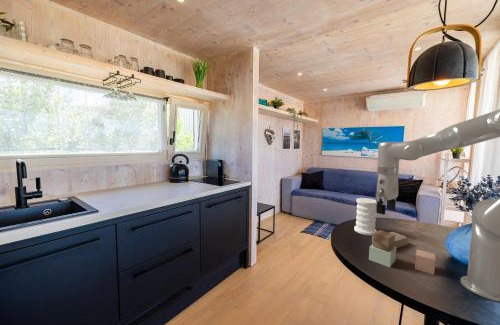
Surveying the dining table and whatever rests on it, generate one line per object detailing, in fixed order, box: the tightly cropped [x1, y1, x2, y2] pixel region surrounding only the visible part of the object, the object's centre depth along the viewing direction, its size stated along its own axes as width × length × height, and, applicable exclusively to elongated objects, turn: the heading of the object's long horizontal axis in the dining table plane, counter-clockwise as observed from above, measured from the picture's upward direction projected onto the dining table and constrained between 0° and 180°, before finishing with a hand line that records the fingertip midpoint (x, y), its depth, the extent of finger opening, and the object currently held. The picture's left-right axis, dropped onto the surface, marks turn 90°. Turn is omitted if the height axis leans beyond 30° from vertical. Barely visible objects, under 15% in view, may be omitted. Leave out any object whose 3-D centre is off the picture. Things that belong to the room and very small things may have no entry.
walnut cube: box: [372, 229, 395, 252], centre depth 95 cm, size 6×6×6 cm
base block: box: [368, 243, 397, 268], centre depth 96 cm, size 8×8×6 cm
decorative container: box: [353, 197, 378, 236], centre depth 126 cm, size 12×12×18 cm
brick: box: [371, 231, 408, 250], centre depth 110 cm, size 17×8×5 cm, turn 116°
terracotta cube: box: [414, 249, 436, 275], centre depth 89 cm, size 6×6×6 cm
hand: (385, 211), depth 94 cm, fingers open, 9 cm apart
